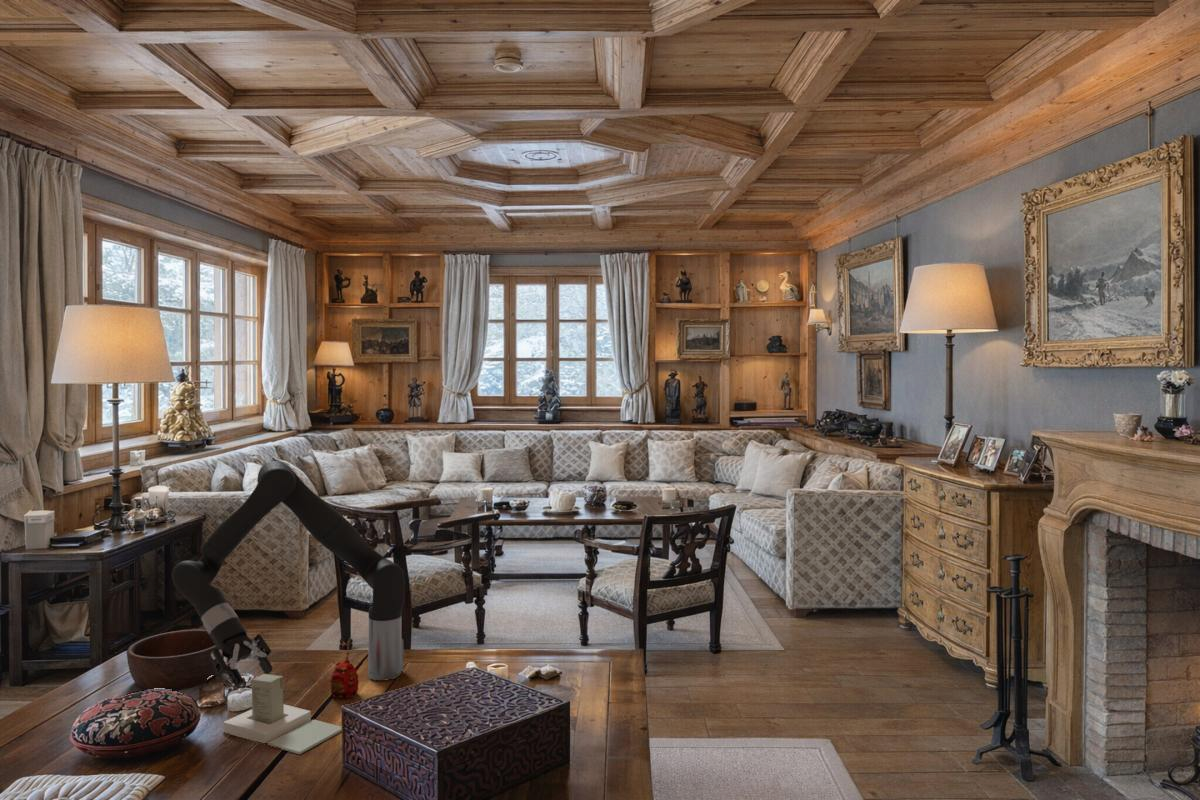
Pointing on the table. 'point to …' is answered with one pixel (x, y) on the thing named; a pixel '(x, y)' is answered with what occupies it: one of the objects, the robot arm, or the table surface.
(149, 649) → the wooden bowl
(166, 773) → the table surface
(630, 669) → the table surface
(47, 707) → the table surface
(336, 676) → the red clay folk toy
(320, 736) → the green tile
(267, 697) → the skincare box
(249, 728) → the holder block
